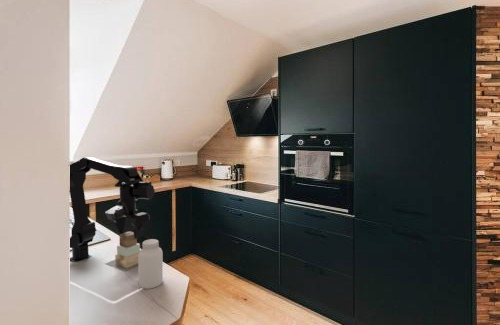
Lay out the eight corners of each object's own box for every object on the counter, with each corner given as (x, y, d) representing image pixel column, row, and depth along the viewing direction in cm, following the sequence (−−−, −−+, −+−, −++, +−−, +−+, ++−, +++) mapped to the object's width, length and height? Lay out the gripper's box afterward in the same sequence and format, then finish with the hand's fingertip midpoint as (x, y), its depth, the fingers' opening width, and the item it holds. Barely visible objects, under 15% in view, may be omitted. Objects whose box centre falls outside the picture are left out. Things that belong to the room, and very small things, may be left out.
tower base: (115, 264, 110) (115, 254, 109) (130, 257, 116) (130, 248, 115) (126, 268, 106) (126, 258, 106) (141, 261, 112) (141, 252, 112)
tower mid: (117, 254, 110) (117, 245, 109) (130, 249, 115) (130, 241, 115) (126, 257, 107) (126, 248, 106) (139, 252, 112) (139, 243, 112)
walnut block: (119, 245, 110) (119, 234, 109) (129, 241, 114) (129, 231, 113) (126, 247, 107) (126, 236, 107) (136, 244, 111) (136, 233, 111)
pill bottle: (155, 290, 91) (154, 246, 90) (133, 287, 93) (132, 244, 92) (167, 279, 99) (166, 238, 98) (146, 277, 101) (146, 236, 100)
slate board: (104, 265, 110) (104, 263, 110) (126, 256, 119) (126, 255, 119) (125, 272, 103) (125, 271, 103) (147, 263, 112) (147, 261, 112)
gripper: (94, 198, 107) (95, 238, 108) (124, 204, 98) (125, 247, 99) (120, 194, 117) (120, 230, 118) (150, 199, 107) (150, 238, 108)
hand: (128, 236), depth 110 cm, fingers open, 9 cm apart
